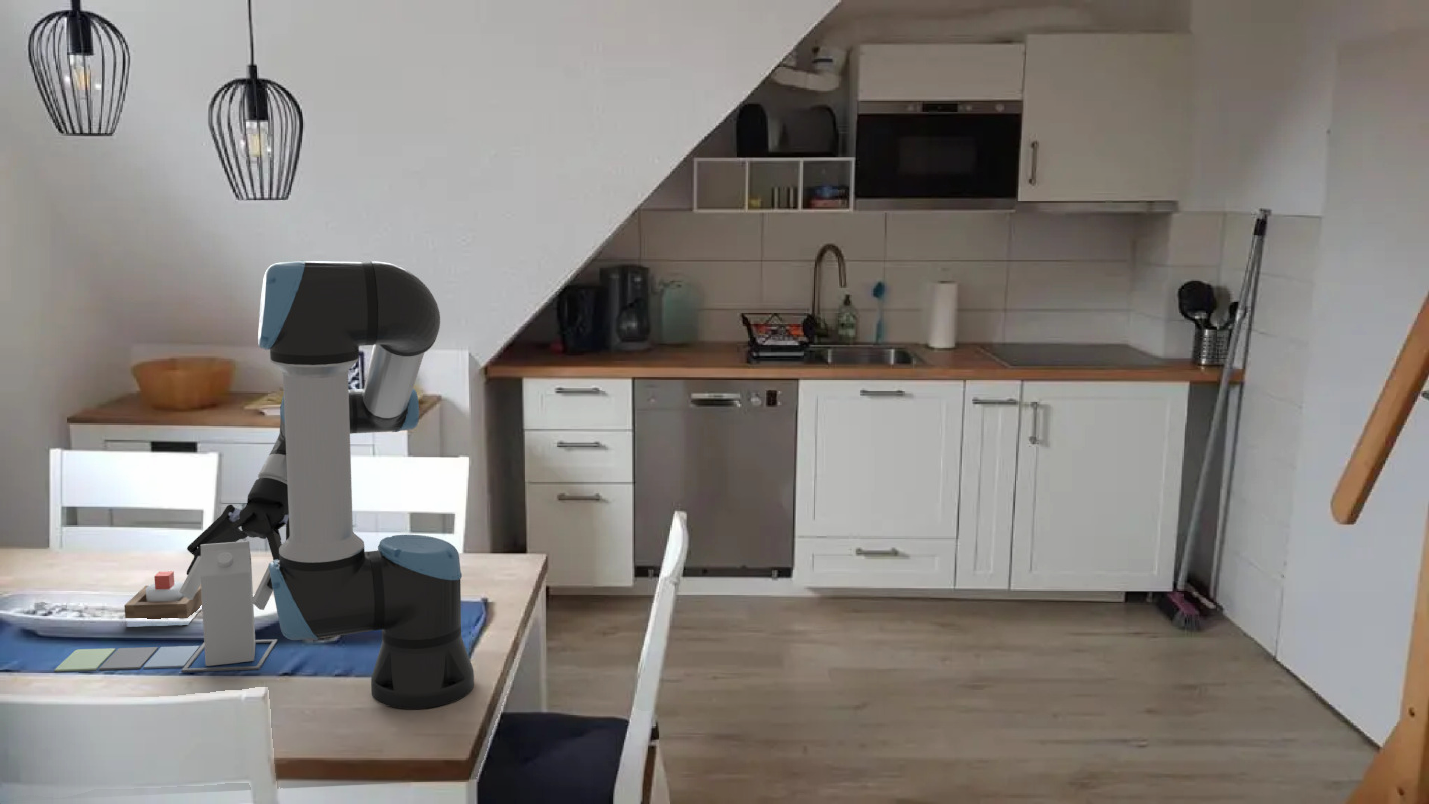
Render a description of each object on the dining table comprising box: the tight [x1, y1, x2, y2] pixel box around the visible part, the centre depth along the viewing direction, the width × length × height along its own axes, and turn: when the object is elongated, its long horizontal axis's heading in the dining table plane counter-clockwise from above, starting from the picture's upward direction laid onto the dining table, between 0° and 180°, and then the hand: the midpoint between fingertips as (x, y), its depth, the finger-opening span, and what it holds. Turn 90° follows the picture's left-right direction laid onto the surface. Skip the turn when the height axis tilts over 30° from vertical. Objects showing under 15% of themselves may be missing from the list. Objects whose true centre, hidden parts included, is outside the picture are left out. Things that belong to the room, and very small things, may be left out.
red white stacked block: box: [146, 570, 184, 602], centre depth 196 cm, size 6×6×6 cm
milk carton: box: [200, 540, 256, 667], centre depth 179 cm, size 7×7×19 cm
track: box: [54, 639, 278, 673], centre depth 179 cm, size 12×31×1 cm, turn 98°
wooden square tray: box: [123, 584, 202, 619], centre depth 196 cm, size 10×10×4 cm
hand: (221, 601), depth 177 cm, fingers open, 13 cm apart
